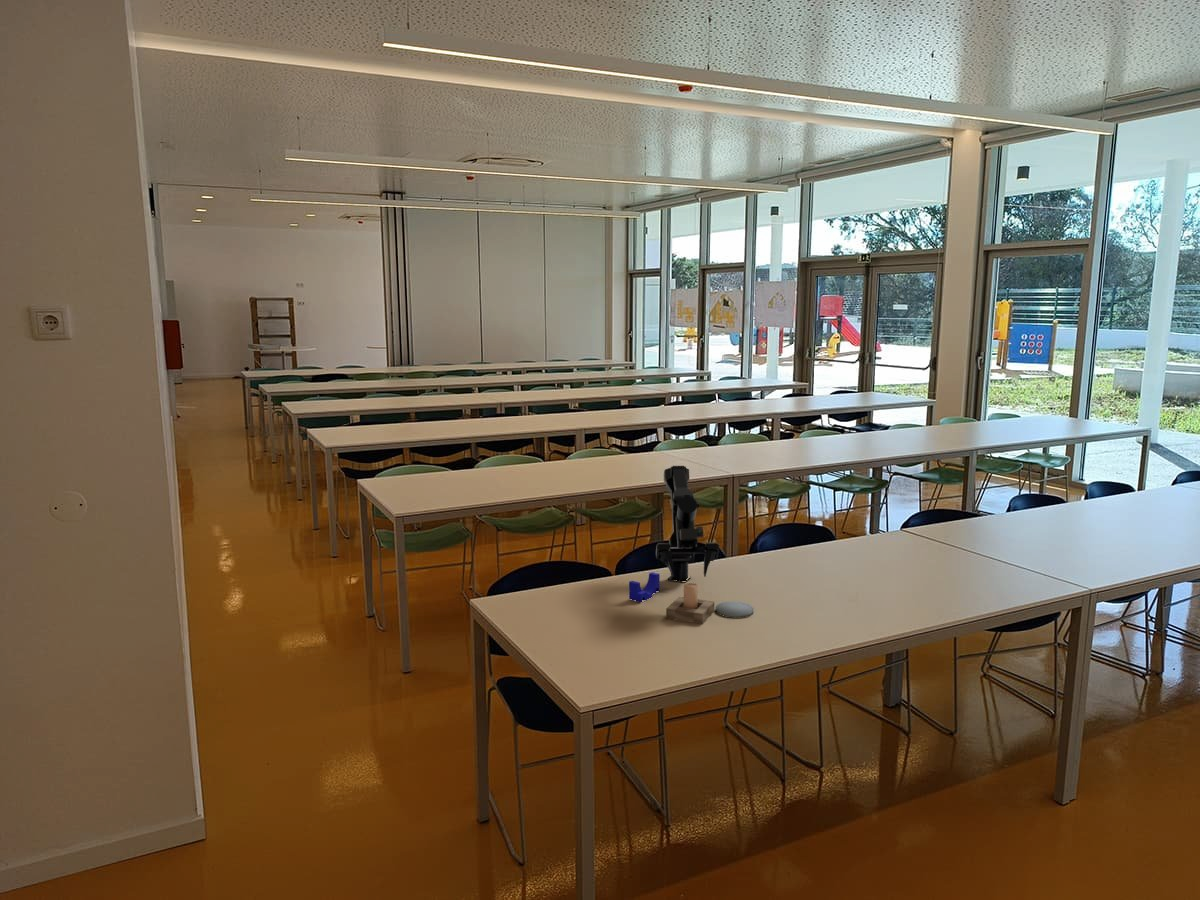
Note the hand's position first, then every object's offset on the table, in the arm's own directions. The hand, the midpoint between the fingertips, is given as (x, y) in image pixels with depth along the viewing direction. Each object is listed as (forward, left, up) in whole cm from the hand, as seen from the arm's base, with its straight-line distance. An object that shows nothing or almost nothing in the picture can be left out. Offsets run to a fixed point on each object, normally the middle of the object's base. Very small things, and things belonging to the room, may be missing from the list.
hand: (689, 576), depth 240 cm
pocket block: (+3, +1, -11) cm, 11 cm away
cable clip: (-7, -16, -11) cm, 21 cm away
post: (+3, +1, -11) cm, 11 cm away
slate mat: (-5, +12, -11) cm, 17 cm away
